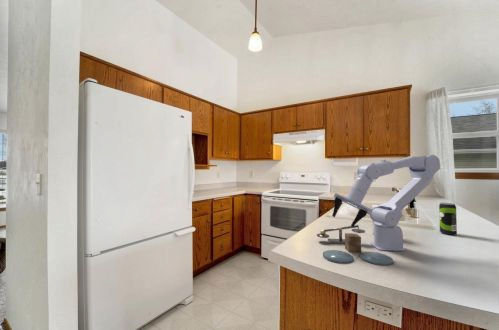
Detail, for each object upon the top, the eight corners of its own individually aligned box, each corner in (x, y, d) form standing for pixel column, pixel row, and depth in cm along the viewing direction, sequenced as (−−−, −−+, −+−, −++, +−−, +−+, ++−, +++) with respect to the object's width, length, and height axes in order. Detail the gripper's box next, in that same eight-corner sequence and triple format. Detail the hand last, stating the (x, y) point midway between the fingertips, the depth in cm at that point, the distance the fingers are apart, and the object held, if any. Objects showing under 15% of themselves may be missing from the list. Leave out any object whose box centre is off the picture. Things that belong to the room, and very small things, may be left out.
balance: (362, 241, 96) (362, 223, 96) (367, 245, 90) (367, 226, 91) (315, 239, 98) (315, 222, 98) (318, 243, 93) (318, 225, 93)
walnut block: (356, 248, 87) (356, 233, 87) (361, 252, 82) (361, 236, 83) (345, 248, 87) (344, 233, 88) (348, 252, 83) (348, 236, 83)
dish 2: (383, 254, 81) (383, 252, 81) (399, 266, 71) (399, 263, 71) (355, 253, 82) (355, 251, 82) (366, 264, 72) (366, 262, 72)
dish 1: (347, 252, 82) (347, 250, 82) (357, 264, 72) (357, 261, 72) (320, 251, 83) (320, 249, 83) (326, 262, 73) (326, 260, 74)
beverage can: (455, 233, 108) (454, 203, 109) (458, 236, 103) (457, 204, 103) (438, 231, 112) (438, 202, 112) (441, 234, 106) (440, 203, 107)
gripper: (339, 181, 89) (323, 210, 88) (377, 197, 80) (360, 230, 79) (341, 186, 94) (326, 213, 93) (377, 201, 86) (361, 232, 85)
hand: (342, 221), depth 86 cm, fingers open, 7 cm apart
